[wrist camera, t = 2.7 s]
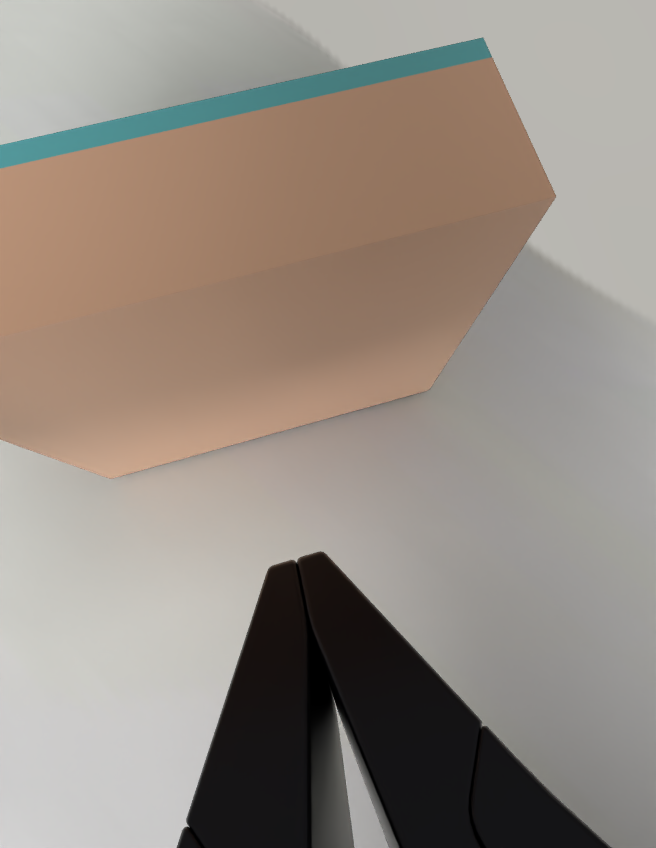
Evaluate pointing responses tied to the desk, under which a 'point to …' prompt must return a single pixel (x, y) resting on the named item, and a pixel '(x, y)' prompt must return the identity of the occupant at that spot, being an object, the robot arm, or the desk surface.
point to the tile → (255, 257)
